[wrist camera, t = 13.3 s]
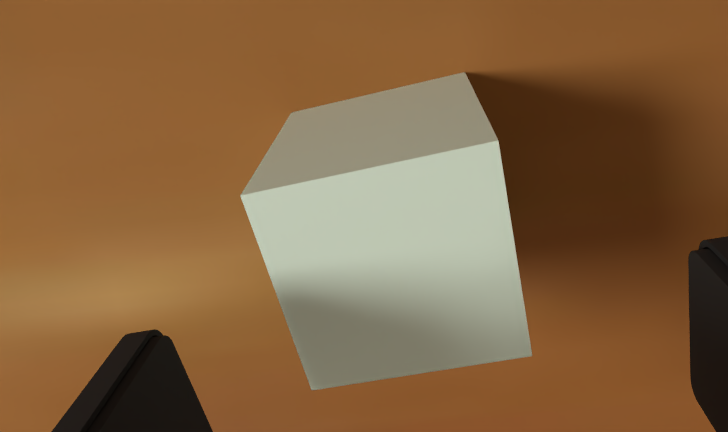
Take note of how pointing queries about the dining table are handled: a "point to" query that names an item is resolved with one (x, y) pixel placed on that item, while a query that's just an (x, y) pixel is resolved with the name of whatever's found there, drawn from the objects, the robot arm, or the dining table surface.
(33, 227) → the dining table surface
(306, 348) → the sage block
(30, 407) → the dining table surface
